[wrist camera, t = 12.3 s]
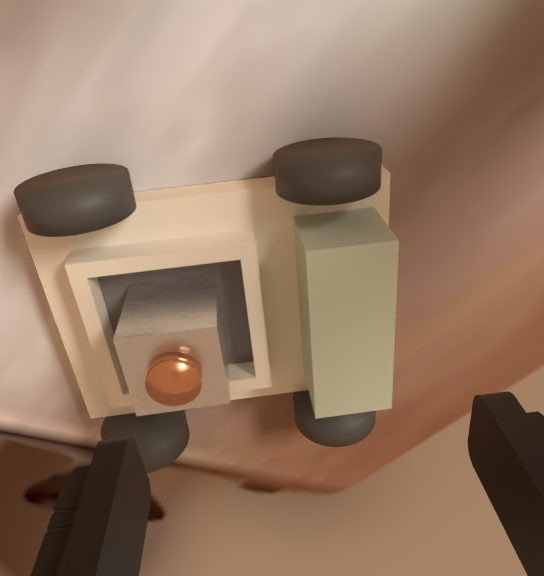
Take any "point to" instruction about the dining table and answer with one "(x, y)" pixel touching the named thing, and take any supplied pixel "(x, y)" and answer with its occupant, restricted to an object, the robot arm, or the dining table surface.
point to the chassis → (232, 282)
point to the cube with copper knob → (174, 345)
